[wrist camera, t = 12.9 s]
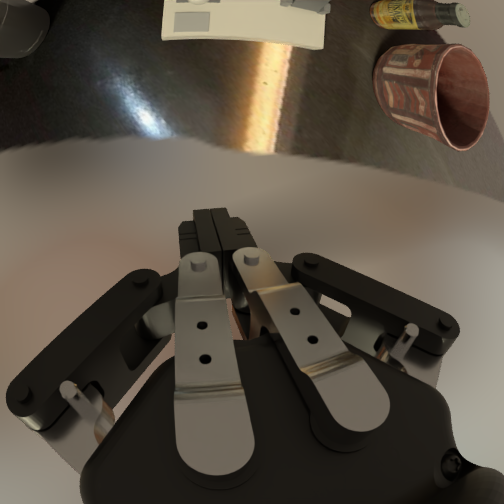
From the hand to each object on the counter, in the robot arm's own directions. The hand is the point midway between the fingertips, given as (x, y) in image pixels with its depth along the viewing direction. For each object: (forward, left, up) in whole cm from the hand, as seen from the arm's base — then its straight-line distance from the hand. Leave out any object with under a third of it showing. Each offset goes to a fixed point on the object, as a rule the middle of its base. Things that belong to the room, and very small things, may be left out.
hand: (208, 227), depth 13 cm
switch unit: (-9, +21, -33) cm, 40 cm away
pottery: (+19, +36, -33) cm, 53 cm away
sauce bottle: (+6, +42, -33) cm, 54 cm away
